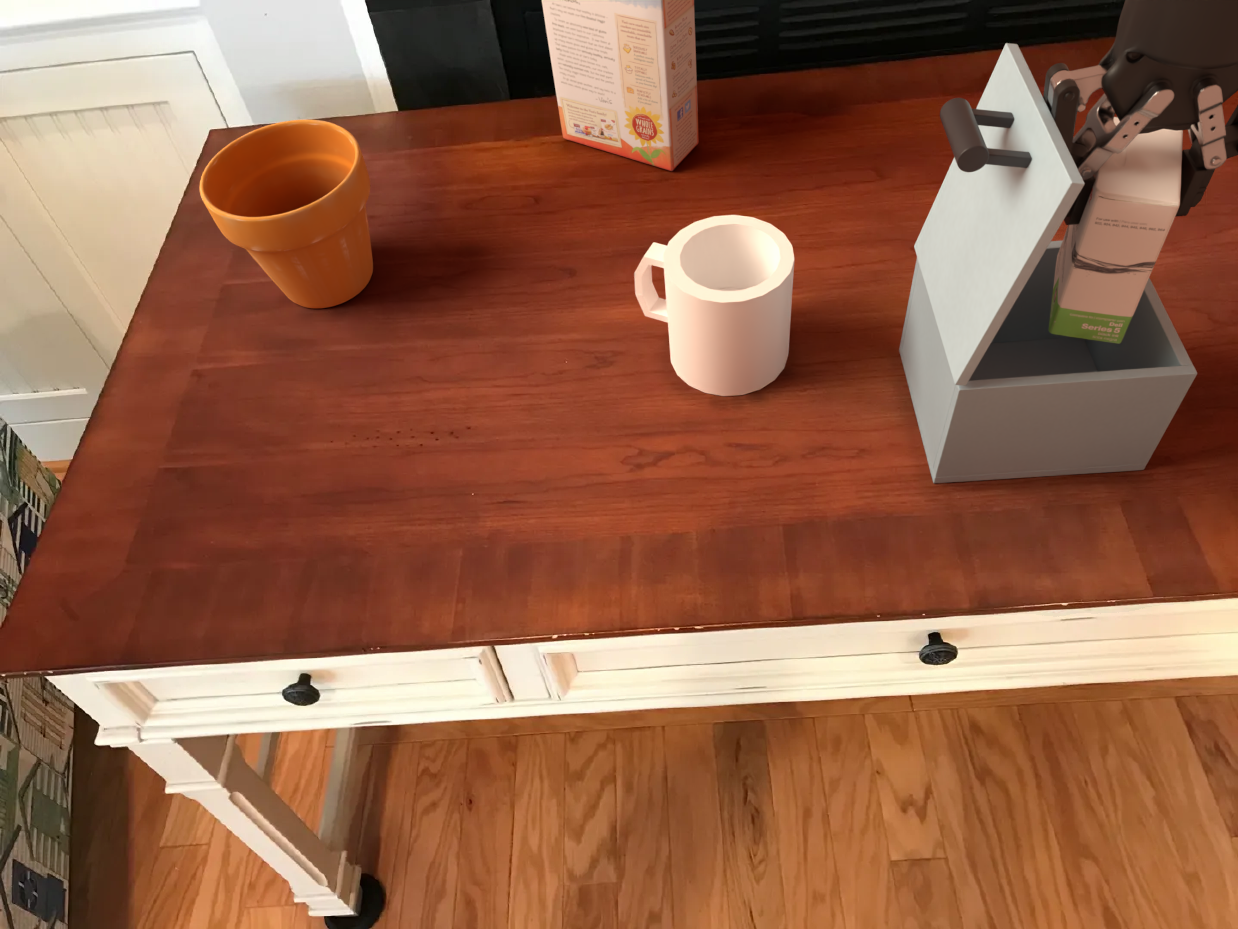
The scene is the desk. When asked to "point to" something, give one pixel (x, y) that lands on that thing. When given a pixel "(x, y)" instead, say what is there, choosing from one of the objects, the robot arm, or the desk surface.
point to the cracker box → (626, 76)
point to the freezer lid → (993, 209)
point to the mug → (723, 302)
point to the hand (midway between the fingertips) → (1121, 211)
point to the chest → (1044, 390)
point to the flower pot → (296, 207)
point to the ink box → (1117, 239)
